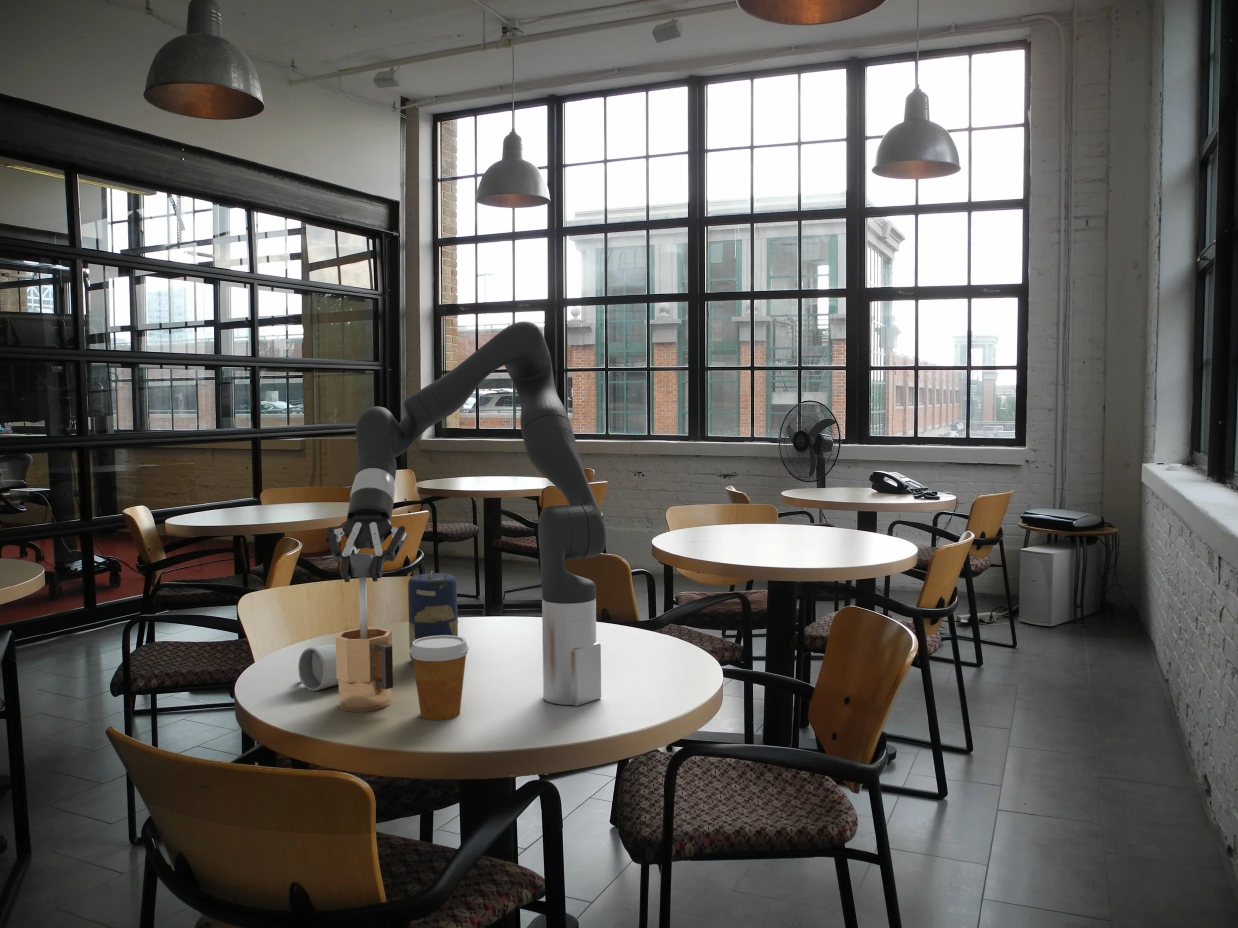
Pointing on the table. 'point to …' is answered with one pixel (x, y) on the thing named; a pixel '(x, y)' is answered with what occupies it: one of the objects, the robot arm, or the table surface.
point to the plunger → (362, 584)
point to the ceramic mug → (318, 667)
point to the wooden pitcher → (364, 669)
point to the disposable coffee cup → (439, 674)
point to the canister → (432, 606)
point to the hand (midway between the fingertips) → (360, 578)
